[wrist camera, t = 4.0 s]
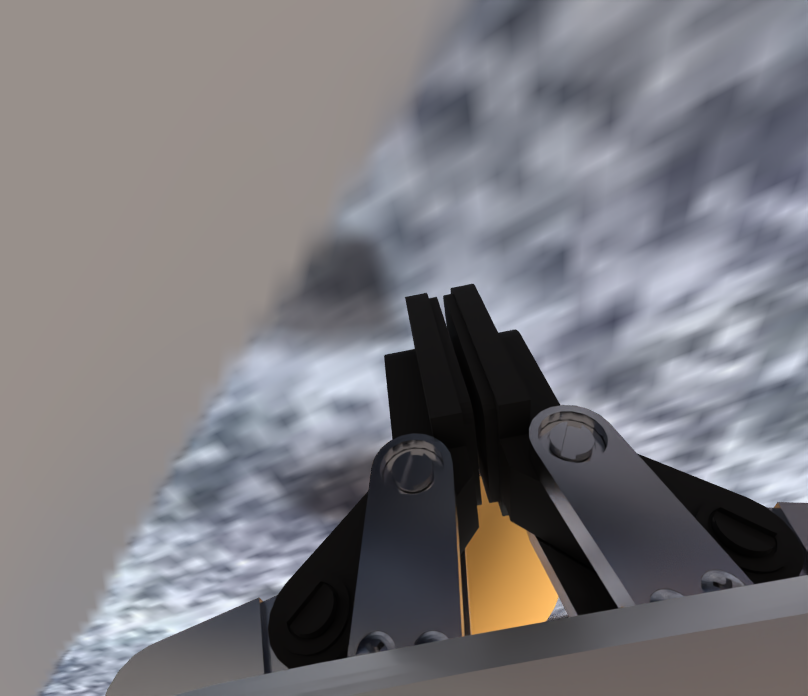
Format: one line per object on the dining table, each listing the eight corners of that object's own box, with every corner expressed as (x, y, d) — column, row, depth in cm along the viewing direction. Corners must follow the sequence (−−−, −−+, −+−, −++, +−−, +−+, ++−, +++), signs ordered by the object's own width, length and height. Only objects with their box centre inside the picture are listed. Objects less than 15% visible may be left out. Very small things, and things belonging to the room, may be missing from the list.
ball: (388, 460, 16) (401, 626, 12) (533, 434, 16) (602, 591, 11) (411, 534, 19) (427, 683, 15) (529, 512, 19) (582, 657, 15)
